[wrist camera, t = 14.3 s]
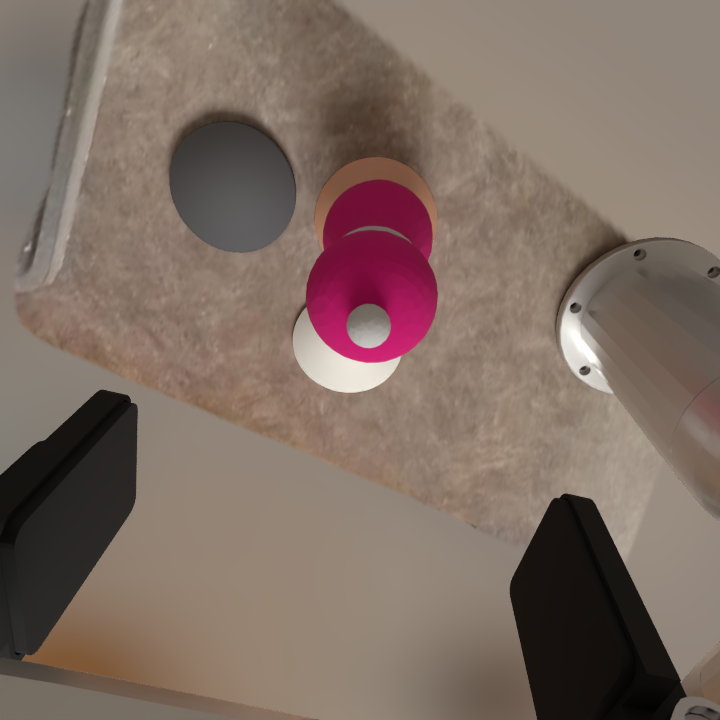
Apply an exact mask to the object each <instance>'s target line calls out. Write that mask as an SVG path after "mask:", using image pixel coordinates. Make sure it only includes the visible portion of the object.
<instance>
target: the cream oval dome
mask: <svg viewBox="0 0 720 720" xmlns="http://www.w3.org/2000/svg"><path fill="white" fill-rule="evenodd" d="M293 348H294V353H295V356H296V359H297V361H298V363H299V365H300V366H301V368H302V369H303V370H304V372H305V373H306V374H307V375H308V376H309V377H310V378H311V379H313V380H314V381H315V382H317V383H318V384H320V385H322V386H324V387H326V388H328V389H331V390H335V391H339V392H349V393H351V392H361V391H365V390H369V389H371V388H374V387H376V386H378V385H379V384H381V383H383V382H384V381H385V380H386V379H387V378H388V377H389V376H390V375H391V374H392V373H393V372H394V370H395V369H396V367H397V365H398V364H399V361H400V358H401V356H400V357H398V358H395V359H392V360H389V361H386V362H380V363H364V362H359V361H355V360H352V359H349V358H346V357H344V356H342V355H340V354H339V353H337V352H335V351H334V350H332V349H331V348H330V347H329V346H327V345H326V344H325V343H324V342H323V340H322V339H321V338H320V337H319V335H318V334H317V333H316V331H315V329H314V327H313V325H312V323H311V321H310V318H309V315H308V311H307V306H306V308H305V309H304V310H303V311H302V313H301V314H300V316H299V318H298V320H297V322H296V325H295V328H294V332H293Z"/></svg>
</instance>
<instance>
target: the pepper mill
mask: <svg viewBox="0 0 720 720" xmlns="http://www.w3.org/2000/svg"><path fill="white" fill-rule="evenodd" d="M432 241H433V231H432V223H431V219H430V216H429V214H428V211H427V209H426V207H425V206H424V204H423V203H422V201H421V200H420V199H419V198H418V197H417V196H416V195H415V194H414V193H413V192H412V191H410V190H409V189H408V188H406V187H404V186H402V185H400V184H398V183H395V182H393V181H389V180H382V179H377V180H370V181H365V182H362V183H359V184H356V185H354V186H352V187H351V188H349V189H347V190H346V191H345V192H343V193H342V194H341V195H340V196H339V197H338V198H337V199H336V200H335V202H334V203H333V205H332V206H331V208H330V210H329V212H328V214H327V216H326V220H325V224H324V229H323V248H324V251H323V253H322V254H321V255H320V256H319V258H318V259H317V260H316V262H315V264H314V266H313V268H312V270H311V272H310V275H309V279H308V282H307V290H306V305H307V311H308V315H309V318H310V321H311V323H312V325H313V327H314V329H315V331H316V333H317V334H318V335H319V337H320V338H321V339H322V340H323V342H324V343H325V344H326V345H327V346H329V347H330V348H331V349H332V350H334V351H335V352H337V353H339V354H340V355H342V356H344V357H346V358H349V359H352V360H355V361H359V362H364V363H380V362H386V361H389V360H392V359H395V358H398V357H400V356H401V355H403V354H405V353H407V352H408V351H410V350H411V349H412V348H414V347H415V346H416V345H417V344H418V343H419V342H420V341H421V340H422V339H423V338H424V336H425V335H426V334H427V332H428V330H429V328H430V326H431V324H432V322H433V319H434V317H435V313H436V308H437V296H438V292H437V283H436V279H435V276H434V273H433V271H432V269H431V267H430V265H429V263H428V259H429V256H430V253H431V249H432Z"/></svg>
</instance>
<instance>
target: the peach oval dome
mask: <svg viewBox="0 0 720 720" xmlns="http://www.w3.org/2000/svg"><path fill="white" fill-rule="evenodd" d="M377 179H382V180H389V181H393V182H395V183H398V184H400V185H402V186H404V187H406V188H408V189H409V190H410V191H412V192H413V193H414V194H415V195H416V196H417V197H418V198H419V199H420V200H421V201H422V203H423V204H424V206H425V207H426V209H427V211H428V214H429V216H430V219H431V223H432V231H433V240H434V237H435V233H436V228H437V211H436V205H435V202H434V199H433V196H432V194H431V191H430V189H429V188H428V186H427V185H426V183H425V181H424V180H423V179H422V178H421V177H420V176H419V175H418V174H417V173H416V172H415V171H414V170H413V169H411V168H410V167H408V166H407V165H405V164H403V163H401V162H399V161H396V160H393V159H389V158H383V157H369V158H363V159H359V160H356V161H353V162H351V163H349V164H347V165H345V166H344V167H342V168H341V169H339V170H338V171H337V172H335V173H334V174H333V176H332V177H331V178H330V179H329V180H328V181H327V183H326V184H325V185H324V187H323V189H322V191H321V193H320V195H319V198H318V200H317V204H316V208H315V230H316V235H317V238H318V241H319V244H320V246H321V248H322V250H323V251H324V248H323V229H324V224H325V220H326V216H327V214H328V212H329V210H330V208H331V206H332V205H333V203H334V202H335V200H336V199H337V198H338V197H339V196H340V195H341V194H342V193H343V192H345V191H346V190H347V189H349V188H351V187H352V186H354V185H356V184H359V183H362V182H365V181H370V180H377ZM432 243H433V241H432Z"/></svg>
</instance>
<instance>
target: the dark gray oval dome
mask: <svg viewBox="0 0 720 720" xmlns="http://www.w3.org/2000/svg"><path fill="white" fill-rule="evenodd" d="M170 189H171V195H172V198H173V202H174V204H175V207H176V209H177V211H178V213H179V215H180V217H181V218H182V220H183V221H184V223H185V224H186V225H187V226H188V228H189V229H190V230H191V231H192V232H193V233H194V234H195V235H196V236H198V237H199V238H200V239H202V240H203V241H204V242H206V243H208V244H210V245H211V246H214V247H216V248H218V249H221V250H225V251H229V252H239V253H243V252H251V251H256V250H259V249H261V248H264V247H266V246H267V245H269V244H271V243H272V242H273V241H275V240H276V239H277V238H278V237H279V236H280V235H281V234H282V233H283V231H284V230H285V229H286V227H287V226H288V224H289V222H290V220H291V217H292V215H293V212H294V208H295V202H296V185H295V179H294V175H293V172H292V169H291V166H290V164H289V162H288V160H287V158H286V156H285V155H284V153H283V152H282V150H281V149H280V148H279V146H278V145H277V144H276V143H275V142H274V141H273V140H272V139H271V138H270V137H268V136H267V135H266V134H264V133H263V132H261V131H260V130H258V129H256V128H254V127H252V126H250V125H247V124H243V123H239V122H231V121H223V122H216V123H212V124H208V125H205V126H203V127H200V128H198V129H197V130H195V131H193V132H192V133H191V134H189V135H188V136H187V137H186V138H185V139H184V140H183V142H182V143H181V144H180V145H179V147H178V149H177V151H176V152H175V155H174V157H173V160H172V164H171V168H170Z"/></svg>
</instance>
